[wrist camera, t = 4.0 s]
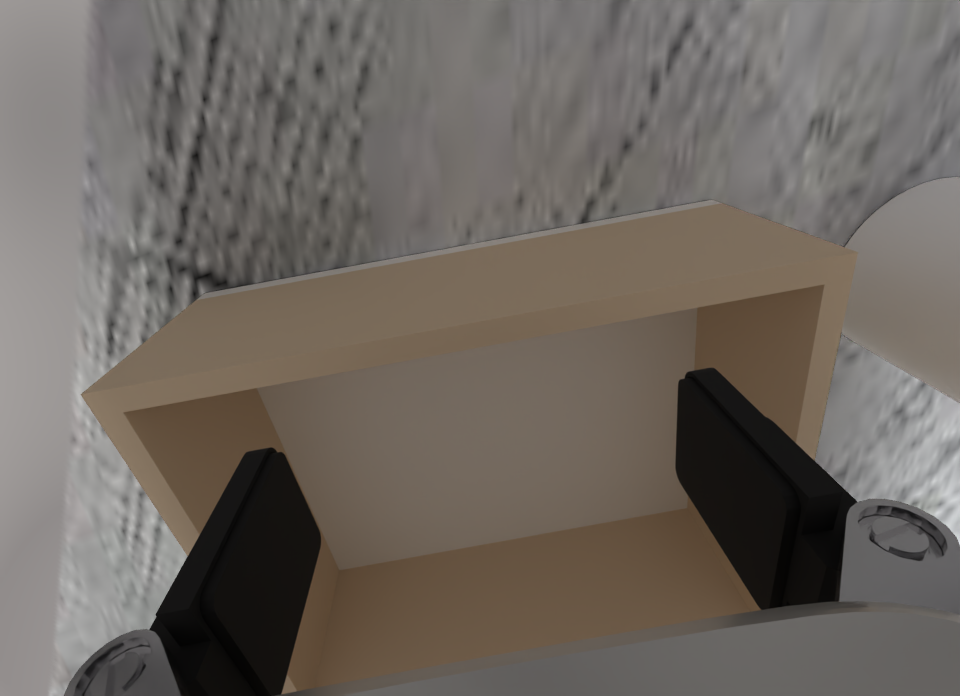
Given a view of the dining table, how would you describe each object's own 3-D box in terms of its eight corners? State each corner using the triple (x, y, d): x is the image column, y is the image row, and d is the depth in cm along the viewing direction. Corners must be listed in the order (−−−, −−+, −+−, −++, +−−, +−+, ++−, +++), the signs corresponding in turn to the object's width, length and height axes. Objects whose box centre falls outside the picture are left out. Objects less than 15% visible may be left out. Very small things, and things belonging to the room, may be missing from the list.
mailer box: (712, 199, 20) (858, 252, 13) (693, 505, 29) (777, 637, 22) (204, 293, 21) (80, 394, 13) (332, 569, 29) (297, 722, 22)
